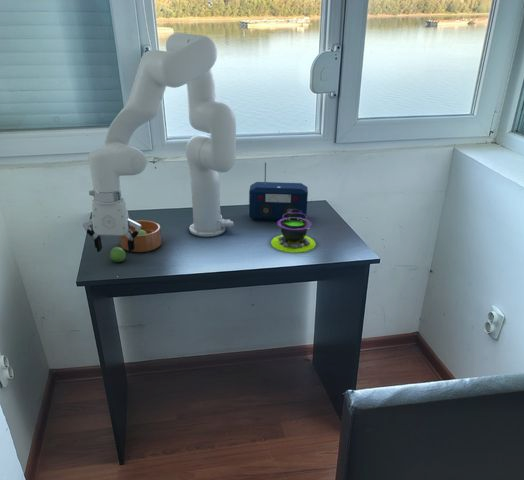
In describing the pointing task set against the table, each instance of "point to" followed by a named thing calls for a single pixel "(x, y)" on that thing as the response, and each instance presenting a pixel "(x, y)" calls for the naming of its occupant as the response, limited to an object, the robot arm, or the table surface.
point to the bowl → (144, 237)
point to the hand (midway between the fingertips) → (115, 250)
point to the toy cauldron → (293, 236)
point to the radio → (277, 200)
